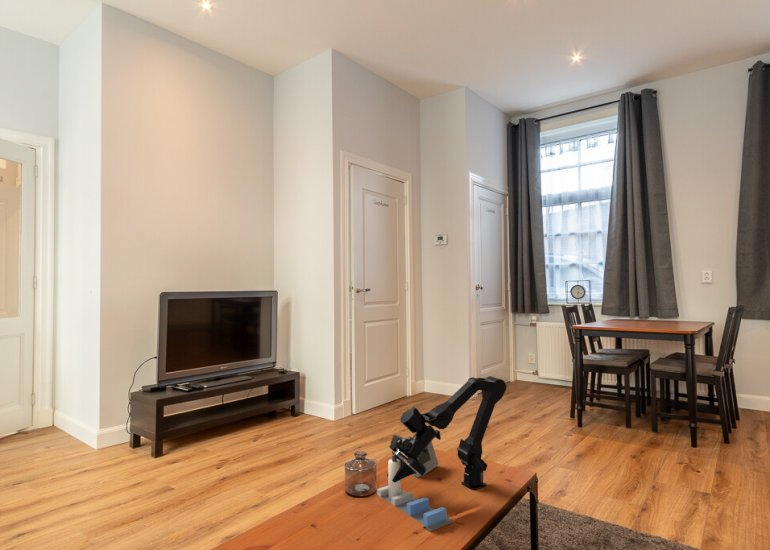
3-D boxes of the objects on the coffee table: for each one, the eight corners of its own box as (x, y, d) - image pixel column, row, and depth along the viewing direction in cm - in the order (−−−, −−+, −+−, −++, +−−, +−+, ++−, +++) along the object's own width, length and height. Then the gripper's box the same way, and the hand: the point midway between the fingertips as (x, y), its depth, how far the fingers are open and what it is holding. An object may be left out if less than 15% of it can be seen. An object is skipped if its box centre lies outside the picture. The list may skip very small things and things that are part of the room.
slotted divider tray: (396, 489, 164) (396, 477, 164) (452, 522, 141) (452, 509, 141) (375, 495, 159) (375, 484, 159) (429, 531, 136) (429, 517, 136)
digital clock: (416, 481, 171) (416, 451, 171) (398, 473, 177) (398, 445, 178) (444, 469, 182) (444, 441, 182) (427, 462, 189) (427, 435, 189)
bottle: (395, 493, 159) (395, 451, 159) (402, 498, 155) (402, 455, 156) (386, 496, 156) (386, 454, 157) (393, 501, 153) (393, 458, 153)
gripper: (394, 418, 166) (364, 454, 162) (417, 434, 149) (385, 475, 145) (414, 438, 169) (385, 474, 165) (439, 456, 152) (408, 496, 148)
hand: (390, 479), depth 155 cm, fingers closed on bottle, 4 cm apart
